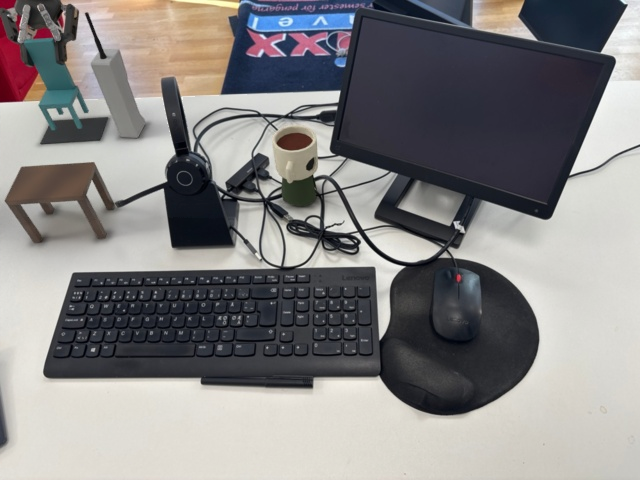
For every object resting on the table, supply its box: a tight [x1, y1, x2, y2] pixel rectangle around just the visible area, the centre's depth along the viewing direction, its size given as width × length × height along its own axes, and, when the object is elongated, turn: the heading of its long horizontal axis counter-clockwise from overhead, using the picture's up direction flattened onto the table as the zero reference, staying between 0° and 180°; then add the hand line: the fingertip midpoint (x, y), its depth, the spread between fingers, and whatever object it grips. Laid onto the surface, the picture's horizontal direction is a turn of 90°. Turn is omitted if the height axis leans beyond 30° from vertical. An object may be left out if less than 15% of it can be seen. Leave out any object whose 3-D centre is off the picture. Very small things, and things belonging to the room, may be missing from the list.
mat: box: [40, 116, 109, 145], centre depth 107 cm, size 12×8×1 cm, turn 93°
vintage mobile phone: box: [84, 11, 146, 139], centre depth 97 cm, size 4×5×25 cm
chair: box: [24, 37, 90, 130], centre depth 99 cm, size 6×6×16 cm
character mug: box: [271, 124, 319, 207], centre depth 87 cm, size 11×7×13 cm, turn 170°
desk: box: [4, 161, 116, 244], centre depth 86 cm, size 12×8×10 cm, turn 93°
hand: (45, 64), depth 96 cm, fingers closed on chair, 5 cm apart
